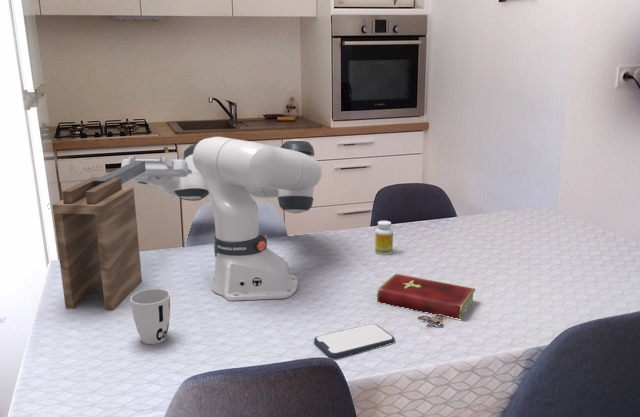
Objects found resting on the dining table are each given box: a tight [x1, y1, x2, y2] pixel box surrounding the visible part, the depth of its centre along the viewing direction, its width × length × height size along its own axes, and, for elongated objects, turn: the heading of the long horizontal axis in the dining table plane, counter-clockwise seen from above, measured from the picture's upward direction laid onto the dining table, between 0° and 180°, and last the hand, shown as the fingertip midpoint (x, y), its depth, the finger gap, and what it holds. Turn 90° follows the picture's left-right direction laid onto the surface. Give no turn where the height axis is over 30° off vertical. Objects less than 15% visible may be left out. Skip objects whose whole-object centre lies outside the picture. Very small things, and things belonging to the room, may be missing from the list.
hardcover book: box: [376, 273, 476, 319], centre depth 146 cm, size 12×21×4 cm, turn 61°
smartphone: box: [313, 323, 396, 360], centre depth 127 cm, size 9×2×16 cm
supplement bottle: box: [374, 220, 394, 256], centre depth 181 cm, size 5×5×10 cm
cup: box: [130, 288, 171, 345], centre depth 128 cm, size 8×8×10 cm
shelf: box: [52, 176, 143, 311], centre depth 148 cm, size 12×18×29 cm, turn 174°
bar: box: [94, 161, 146, 187], centre depth 160 cm, size 3×26×3 cm, turn 174°
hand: (146, 159), depth 177 cm, fingers open, 8 cm apart
